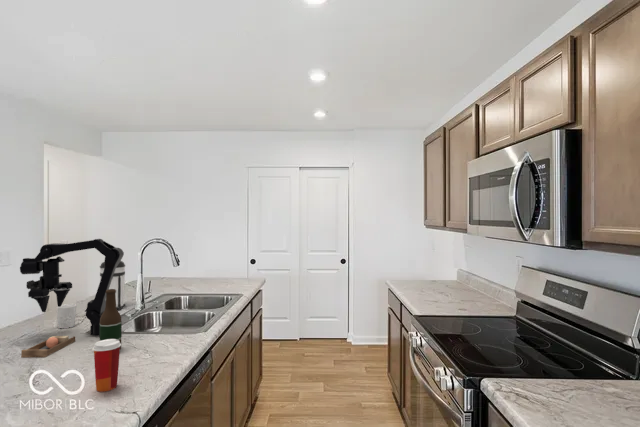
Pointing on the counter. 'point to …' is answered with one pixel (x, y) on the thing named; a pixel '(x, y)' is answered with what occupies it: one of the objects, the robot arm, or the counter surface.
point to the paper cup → (106, 364)
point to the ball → (52, 342)
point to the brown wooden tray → (45, 349)
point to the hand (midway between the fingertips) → (51, 309)
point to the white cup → (66, 315)
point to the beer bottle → (110, 319)
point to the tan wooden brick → (61, 338)
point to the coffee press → (117, 283)
